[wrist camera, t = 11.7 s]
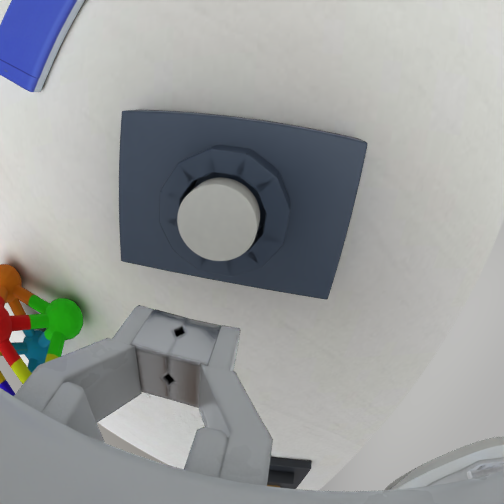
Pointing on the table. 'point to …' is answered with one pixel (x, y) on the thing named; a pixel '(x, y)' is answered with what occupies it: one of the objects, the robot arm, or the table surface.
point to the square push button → (287, 472)
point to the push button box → (255, 179)
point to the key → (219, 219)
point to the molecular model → (33, 326)
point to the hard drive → (33, 39)
